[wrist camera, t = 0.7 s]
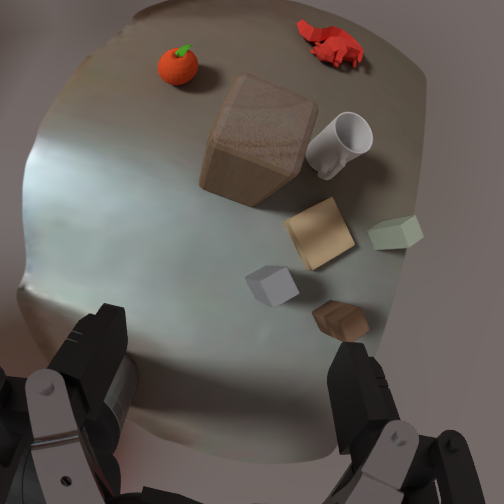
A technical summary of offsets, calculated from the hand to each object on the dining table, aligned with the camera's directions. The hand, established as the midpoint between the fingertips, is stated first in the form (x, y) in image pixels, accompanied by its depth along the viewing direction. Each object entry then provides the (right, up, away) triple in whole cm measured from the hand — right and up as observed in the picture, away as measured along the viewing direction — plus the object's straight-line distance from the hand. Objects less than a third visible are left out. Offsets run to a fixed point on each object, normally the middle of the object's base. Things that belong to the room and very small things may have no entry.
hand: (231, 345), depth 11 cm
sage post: (+24, +6, +44) cm, 50 cm away
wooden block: (-2, +16, +38) cm, 42 cm away
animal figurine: (+16, +47, +43) cm, 66 cm away
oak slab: (+12, +6, +41) cm, 43 cm away
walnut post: (+13, -8, +41) cm, 44 cm away
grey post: (+2, -2, +38) cm, 39 cm away
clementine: (-12, +35, +37) cm, 52 cm away
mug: (+12, +19, +42) cm, 47 cm away
